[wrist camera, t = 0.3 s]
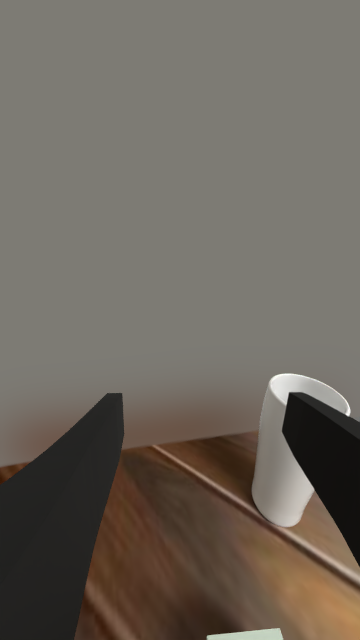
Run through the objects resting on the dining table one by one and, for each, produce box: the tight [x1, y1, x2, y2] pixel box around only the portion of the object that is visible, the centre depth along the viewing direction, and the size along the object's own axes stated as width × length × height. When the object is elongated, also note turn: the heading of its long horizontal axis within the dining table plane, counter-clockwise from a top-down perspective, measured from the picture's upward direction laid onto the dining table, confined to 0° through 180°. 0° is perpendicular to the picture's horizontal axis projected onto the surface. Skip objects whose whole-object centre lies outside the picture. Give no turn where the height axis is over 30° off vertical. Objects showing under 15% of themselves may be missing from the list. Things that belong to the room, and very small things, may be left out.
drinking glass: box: [252, 374, 350, 527], centre depth 22 cm, size 7×7×15 cm
